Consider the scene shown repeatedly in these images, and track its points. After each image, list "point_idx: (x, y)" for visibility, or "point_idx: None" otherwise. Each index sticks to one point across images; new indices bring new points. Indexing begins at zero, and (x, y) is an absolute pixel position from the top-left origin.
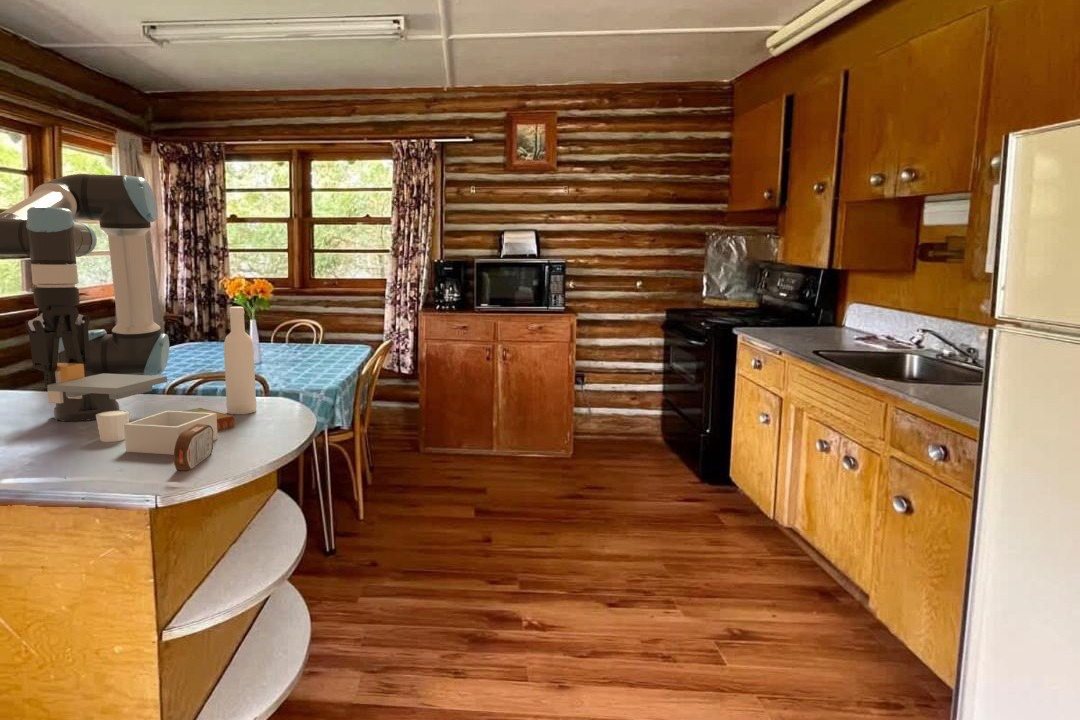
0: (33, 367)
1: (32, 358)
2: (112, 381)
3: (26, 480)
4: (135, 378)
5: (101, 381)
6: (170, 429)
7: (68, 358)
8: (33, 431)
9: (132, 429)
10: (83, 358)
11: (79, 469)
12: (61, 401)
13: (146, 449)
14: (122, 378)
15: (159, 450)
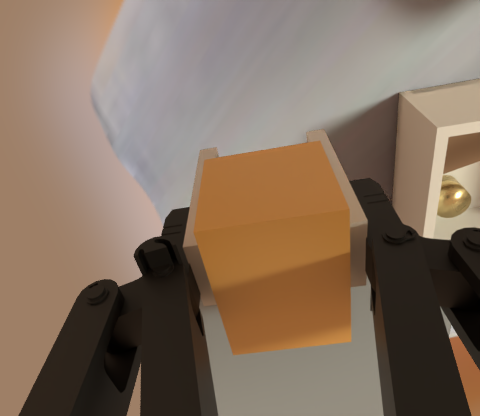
0: (81, 293)
1: (53, 352)
2: (283, 403)
3: (144, 57)
4: (360, 412)
5: (269, 384)
6: None
7: (376, 281)
8: None
9: (427, 148)
10: (447, 306)
11: (259, 95)
12: None
13: (401, 158)
14: (348, 390)
15: (398, 189)
